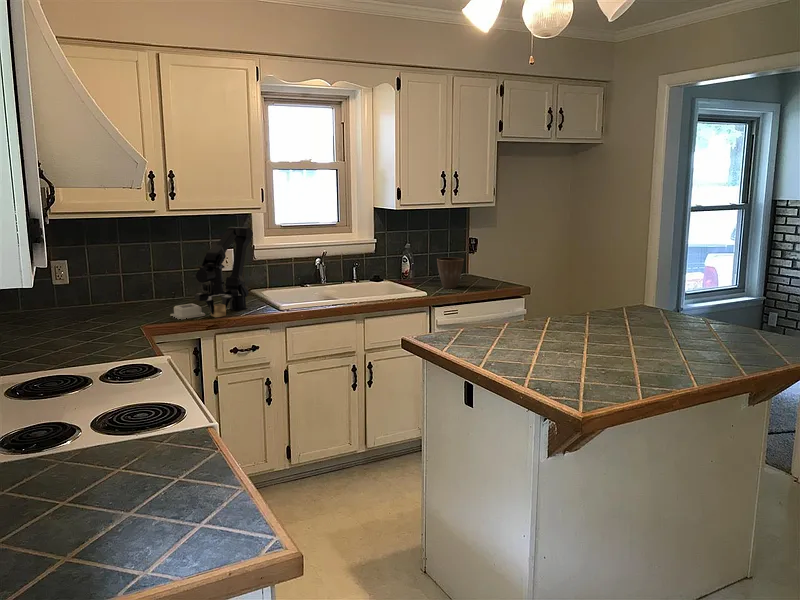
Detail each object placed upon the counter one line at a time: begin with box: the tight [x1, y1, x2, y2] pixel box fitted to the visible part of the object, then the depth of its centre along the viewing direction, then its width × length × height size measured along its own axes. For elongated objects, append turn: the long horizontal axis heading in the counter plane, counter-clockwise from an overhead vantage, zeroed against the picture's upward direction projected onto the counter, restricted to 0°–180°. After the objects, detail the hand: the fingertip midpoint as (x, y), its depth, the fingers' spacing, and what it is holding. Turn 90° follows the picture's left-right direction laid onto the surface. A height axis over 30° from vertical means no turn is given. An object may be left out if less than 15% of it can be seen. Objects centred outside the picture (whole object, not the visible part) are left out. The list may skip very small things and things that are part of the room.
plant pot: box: [436, 256, 465, 289], centre depth 354 cm, size 15×15×16 cm
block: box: [210, 303, 227, 318], centre depth 288 cm, size 5×5×5 cm
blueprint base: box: [170, 303, 206, 320], centre depth 289 cm, size 12×10×5 cm
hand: (218, 313), depth 288 cm, fingers closed on block, 5 cm apart
